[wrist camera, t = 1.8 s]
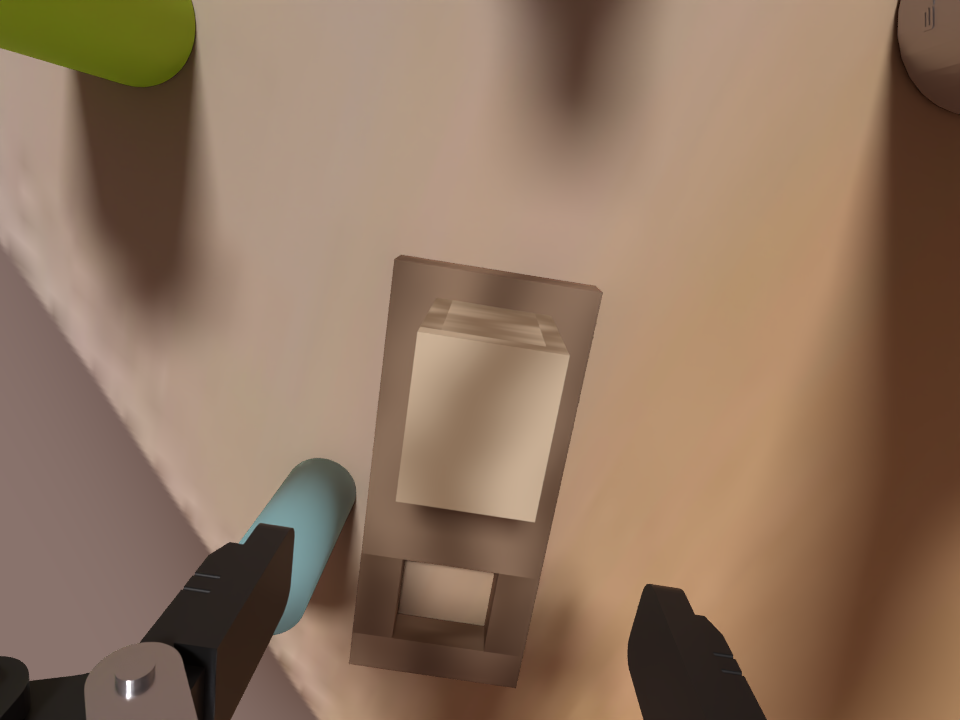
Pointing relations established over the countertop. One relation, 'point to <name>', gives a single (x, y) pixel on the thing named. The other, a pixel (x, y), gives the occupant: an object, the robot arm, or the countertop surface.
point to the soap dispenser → (103, 36)
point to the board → (452, 533)
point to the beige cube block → (481, 410)
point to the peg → (309, 525)
